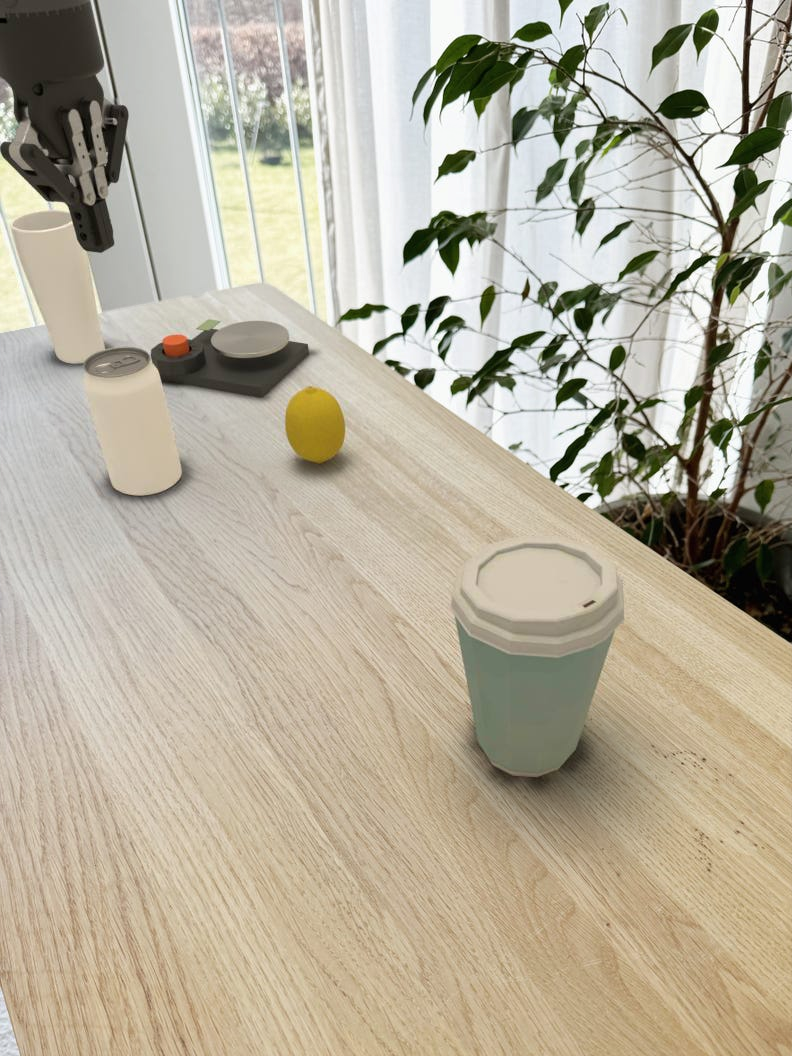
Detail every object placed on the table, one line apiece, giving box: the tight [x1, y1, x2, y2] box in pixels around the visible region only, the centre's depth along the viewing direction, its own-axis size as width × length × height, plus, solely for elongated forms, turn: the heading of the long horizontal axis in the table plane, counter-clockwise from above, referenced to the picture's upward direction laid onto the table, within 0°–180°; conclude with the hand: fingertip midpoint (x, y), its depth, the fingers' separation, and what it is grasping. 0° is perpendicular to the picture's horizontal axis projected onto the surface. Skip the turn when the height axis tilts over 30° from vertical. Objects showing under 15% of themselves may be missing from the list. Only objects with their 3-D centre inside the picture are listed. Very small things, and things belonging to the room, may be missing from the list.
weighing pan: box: [195, 318, 290, 358], centre depth 110 cm, size 12×8×1 cm
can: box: [82, 346, 183, 497], centre depth 90 cm, size 6×6×12 cm
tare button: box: [161, 333, 190, 357], centre depth 108 cm, size 3×3×2 cm
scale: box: [150, 328, 310, 399], centre depth 111 cm, size 14×12×3 cm
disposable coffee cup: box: [449, 534, 625, 778], centre depth 64 cm, size 11×11×15 cm
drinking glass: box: [9, 209, 106, 365], centre depth 109 cm, size 7×7×15 cm
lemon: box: [284, 385, 346, 465], centre depth 94 cm, size 6×6×8 cm
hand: (98, 248), depth 81 cm, fingers closed
